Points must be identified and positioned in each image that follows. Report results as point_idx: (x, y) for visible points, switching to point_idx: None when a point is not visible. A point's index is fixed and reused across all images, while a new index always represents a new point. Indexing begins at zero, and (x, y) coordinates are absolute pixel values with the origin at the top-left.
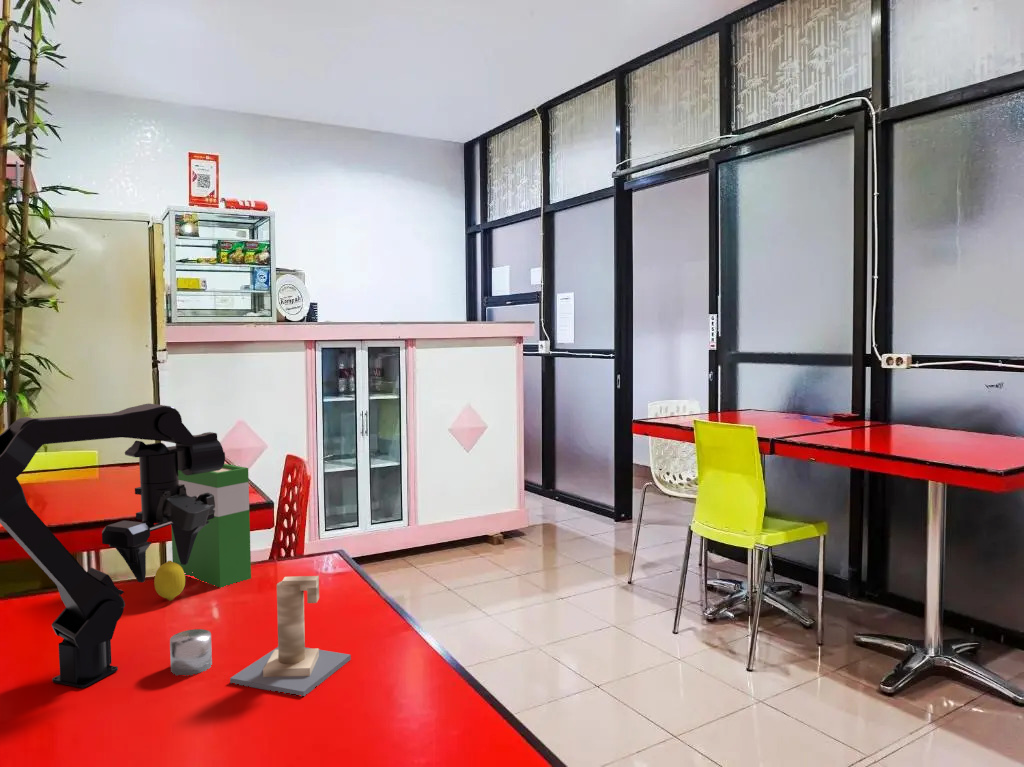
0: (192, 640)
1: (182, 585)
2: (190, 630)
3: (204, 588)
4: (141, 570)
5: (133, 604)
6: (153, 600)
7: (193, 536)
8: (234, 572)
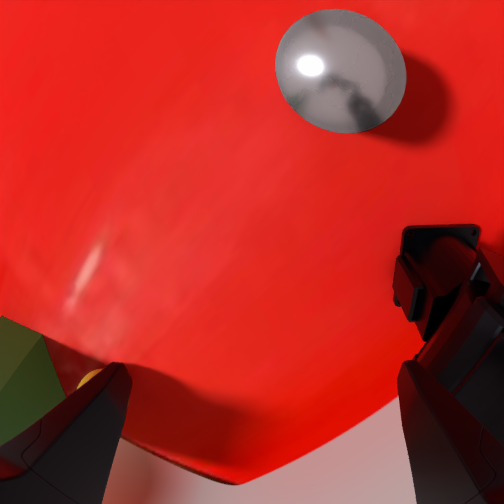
0: (362, 43)
1: (91, 375)
2: (302, 108)
3: (59, 354)
4: (459, 402)
5: (162, 404)
6: (133, 391)
7: (19, 454)
8: (12, 337)
